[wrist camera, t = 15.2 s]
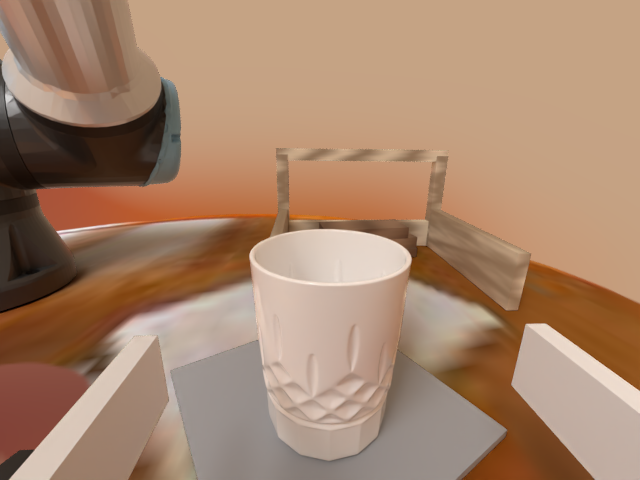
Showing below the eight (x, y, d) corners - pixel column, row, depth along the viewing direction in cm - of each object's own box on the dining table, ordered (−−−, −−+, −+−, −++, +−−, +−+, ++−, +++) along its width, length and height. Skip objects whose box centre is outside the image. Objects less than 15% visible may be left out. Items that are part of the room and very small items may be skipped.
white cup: (270, 361, 22) (263, 228, 19) (378, 361, 22) (389, 229, 19) (246, 475, 14) (229, 284, 11) (412, 474, 14) (439, 284, 11)
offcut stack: (323, 267, 41) (324, 232, 39) (314, 252, 46) (314, 222, 45) (417, 259, 44) (421, 227, 42) (398, 246, 49) (401, 218, 48)
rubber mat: (171, 376, 21) (170, 370, 21) (343, 314, 29) (343, 309, 29) (249, 685, 9) (248, 677, 9) (505, 436, 17) (507, 429, 17)
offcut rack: (264, 315, 29) (256, 152, 24) (279, 243, 49) (277, 148, 44) (519, 310, 30) (557, 155, 26) (431, 242, 50) (443, 150, 46)
